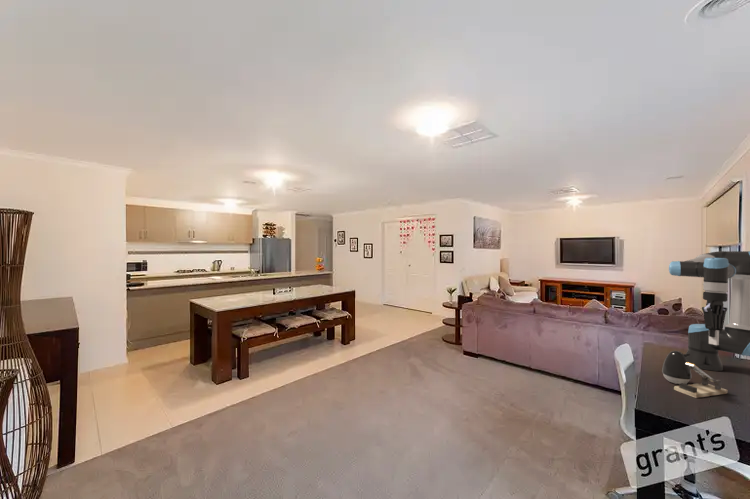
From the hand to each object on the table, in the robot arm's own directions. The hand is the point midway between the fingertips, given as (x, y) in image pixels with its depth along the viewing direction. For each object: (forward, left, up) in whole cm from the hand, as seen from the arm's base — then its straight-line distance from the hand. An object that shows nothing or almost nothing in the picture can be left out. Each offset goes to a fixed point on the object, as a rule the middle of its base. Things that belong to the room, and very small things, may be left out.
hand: (713, 344), depth 141 cm
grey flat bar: (+5, -2, -14) cm, 15 cm away
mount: (+5, -2, -22) cm, 22 cm away
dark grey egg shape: (+4, -11, -22) cm, 25 cm away
